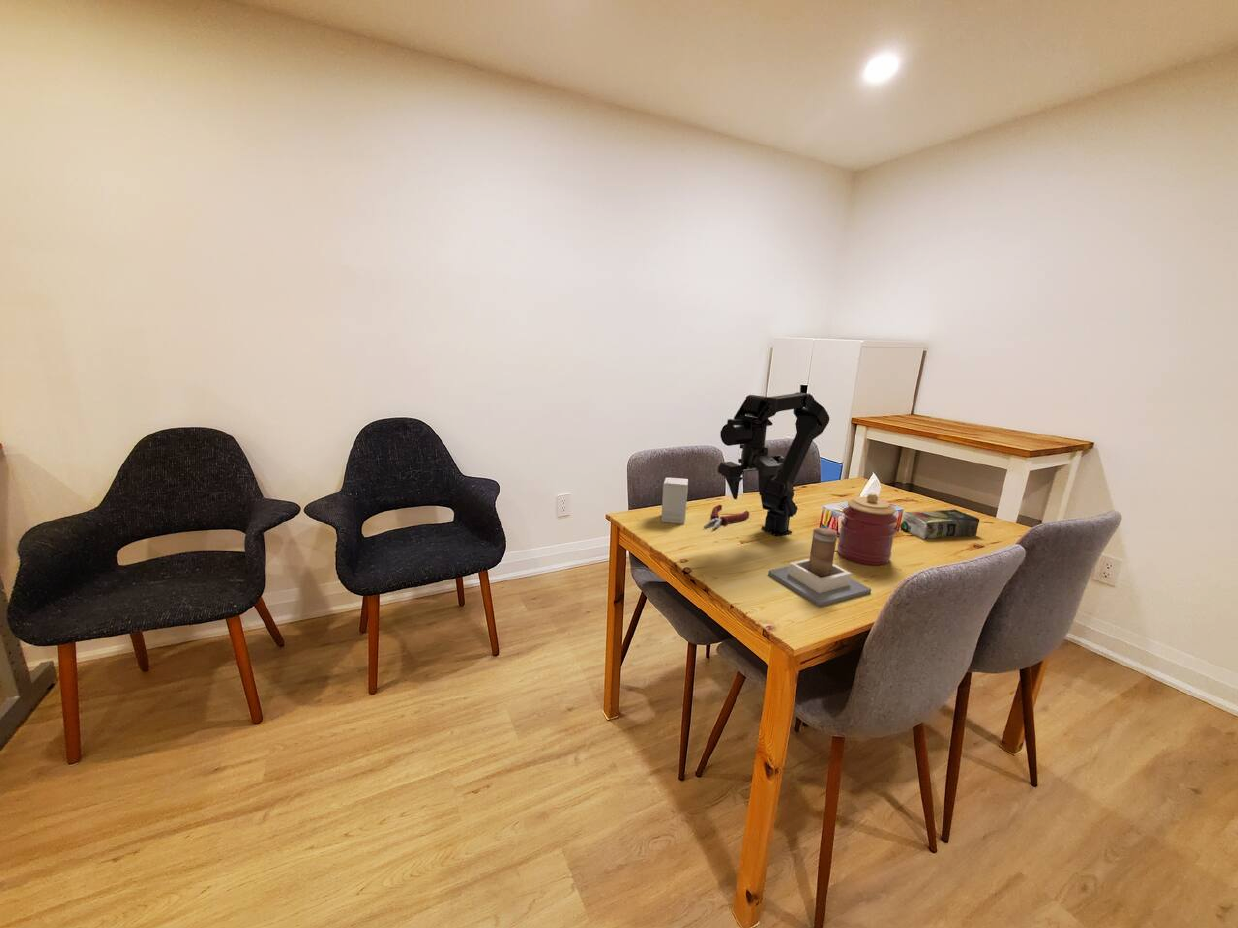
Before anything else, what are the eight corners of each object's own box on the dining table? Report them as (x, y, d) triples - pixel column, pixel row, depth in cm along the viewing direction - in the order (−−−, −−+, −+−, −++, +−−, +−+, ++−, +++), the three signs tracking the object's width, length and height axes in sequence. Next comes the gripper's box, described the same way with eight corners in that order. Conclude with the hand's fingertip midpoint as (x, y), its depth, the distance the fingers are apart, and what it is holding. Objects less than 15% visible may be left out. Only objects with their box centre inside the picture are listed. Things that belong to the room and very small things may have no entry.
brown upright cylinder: (811, 572, 118) (817, 526, 115) (832, 579, 115) (840, 532, 112) (803, 579, 114) (810, 532, 111) (826, 586, 111) (833, 538, 108)
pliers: (690, 527, 148) (691, 519, 147) (717, 510, 164) (718, 502, 163) (725, 536, 142) (726, 528, 141) (750, 518, 158) (751, 510, 157)
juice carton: (921, 540, 143) (925, 521, 141) (896, 528, 152) (899, 509, 150) (977, 537, 147) (981, 518, 145) (949, 525, 156) (953, 507, 155)
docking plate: (816, 563, 125) (818, 549, 124) (870, 592, 111) (873, 577, 110) (768, 574, 118) (769, 559, 117) (819, 607, 104) (822, 590, 103)
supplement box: (684, 524, 149) (687, 485, 146) (660, 521, 150) (662, 483, 147) (686, 516, 156) (688, 478, 153) (663, 513, 158) (665, 476, 154)
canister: (826, 549, 134) (835, 488, 130) (859, 542, 139) (869, 484, 135) (865, 569, 122) (877, 503, 118) (901, 561, 128) (913, 498, 123)
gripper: (746, 451, 120) (740, 510, 124) (802, 446, 128) (795, 502, 132) (719, 442, 130) (714, 497, 134) (772, 438, 138) (766, 490, 142)
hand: (748, 497), depth 135 cm, fingers open, 9 cm apart
